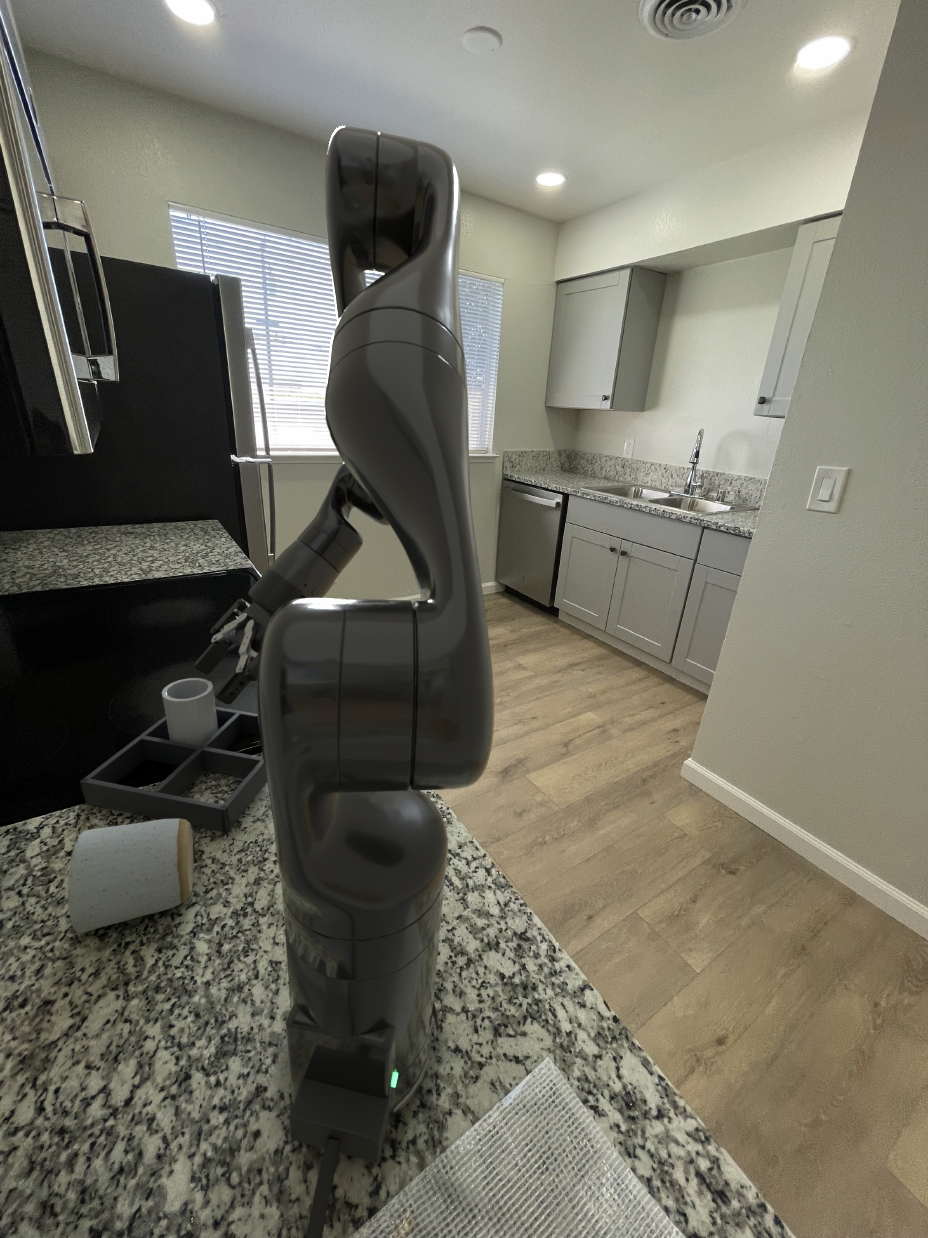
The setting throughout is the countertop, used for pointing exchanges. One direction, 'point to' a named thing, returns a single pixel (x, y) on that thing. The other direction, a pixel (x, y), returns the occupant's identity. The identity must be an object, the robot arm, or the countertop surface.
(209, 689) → the white tumbler
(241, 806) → the dark grey divided tray
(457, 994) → the countertop surface
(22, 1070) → the countertop surface
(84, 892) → the ceramic mug
